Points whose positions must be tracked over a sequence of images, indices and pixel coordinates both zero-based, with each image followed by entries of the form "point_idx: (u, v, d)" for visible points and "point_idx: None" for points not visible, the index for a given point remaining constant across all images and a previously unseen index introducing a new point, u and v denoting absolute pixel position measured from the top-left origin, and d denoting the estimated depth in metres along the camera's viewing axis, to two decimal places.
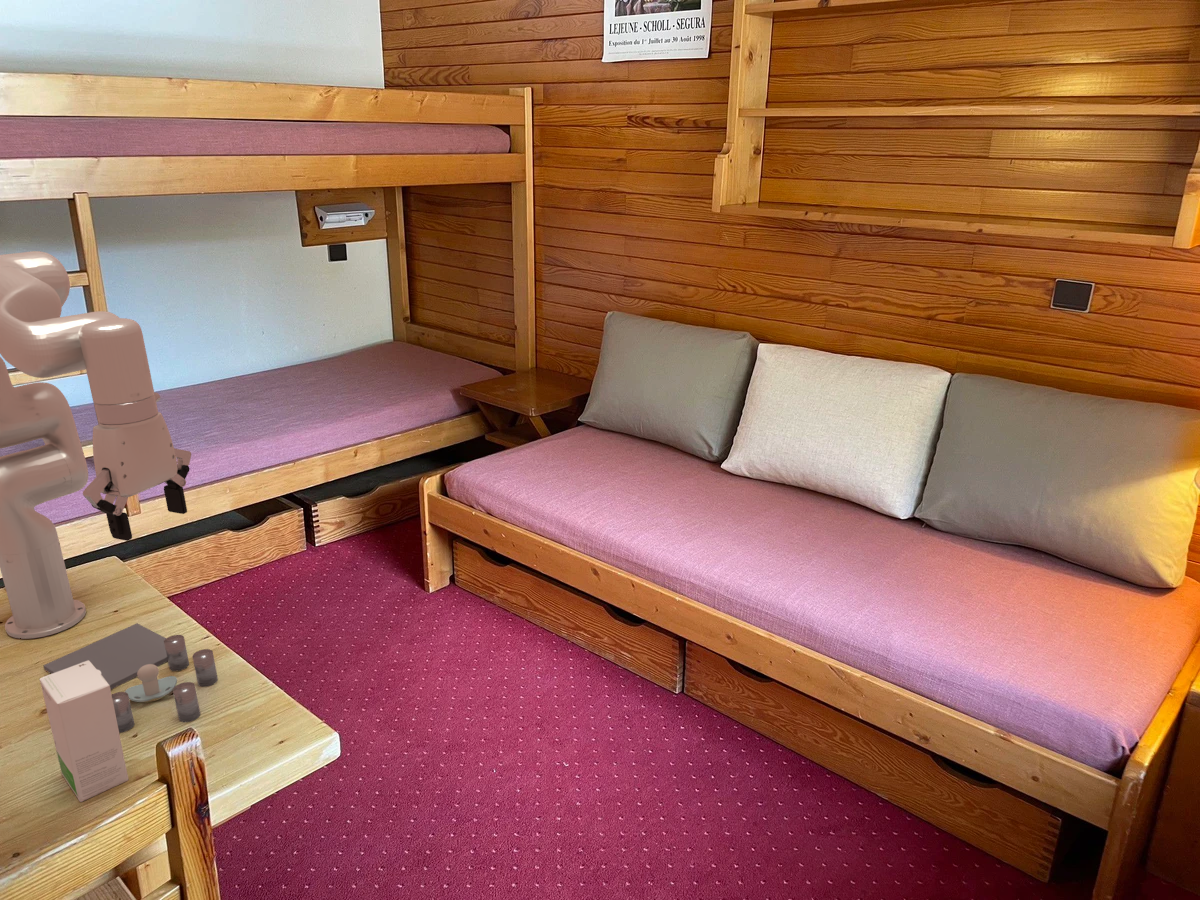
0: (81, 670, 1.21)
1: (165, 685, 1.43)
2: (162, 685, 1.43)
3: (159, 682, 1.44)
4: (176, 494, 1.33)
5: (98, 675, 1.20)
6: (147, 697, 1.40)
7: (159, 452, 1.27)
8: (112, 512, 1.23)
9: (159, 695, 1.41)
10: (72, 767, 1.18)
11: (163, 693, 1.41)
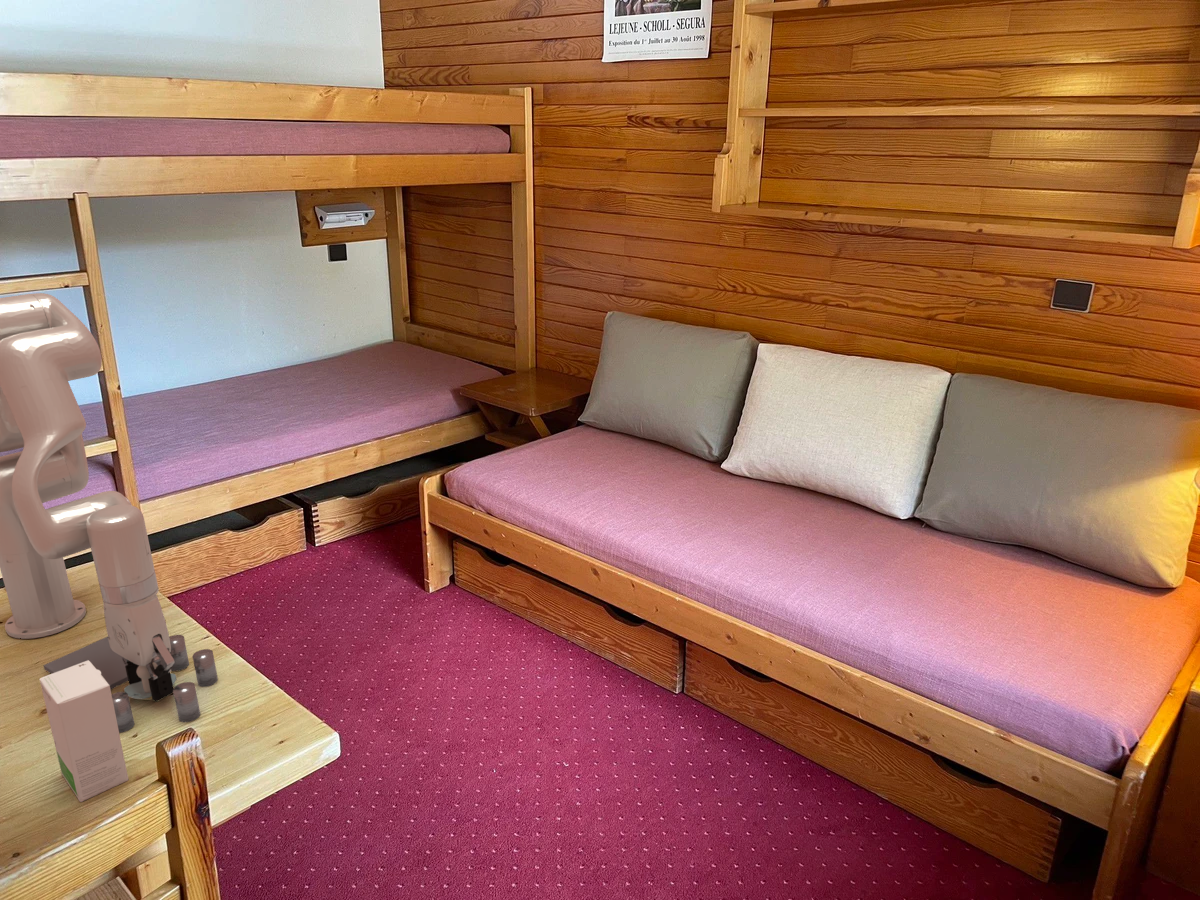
0: (81, 670, 1.21)
1: None
2: None
3: None
4: None
5: (98, 675, 1.20)
6: (147, 694, 1.41)
7: None
8: (168, 670, 1.39)
9: None
10: (72, 767, 1.18)
11: None
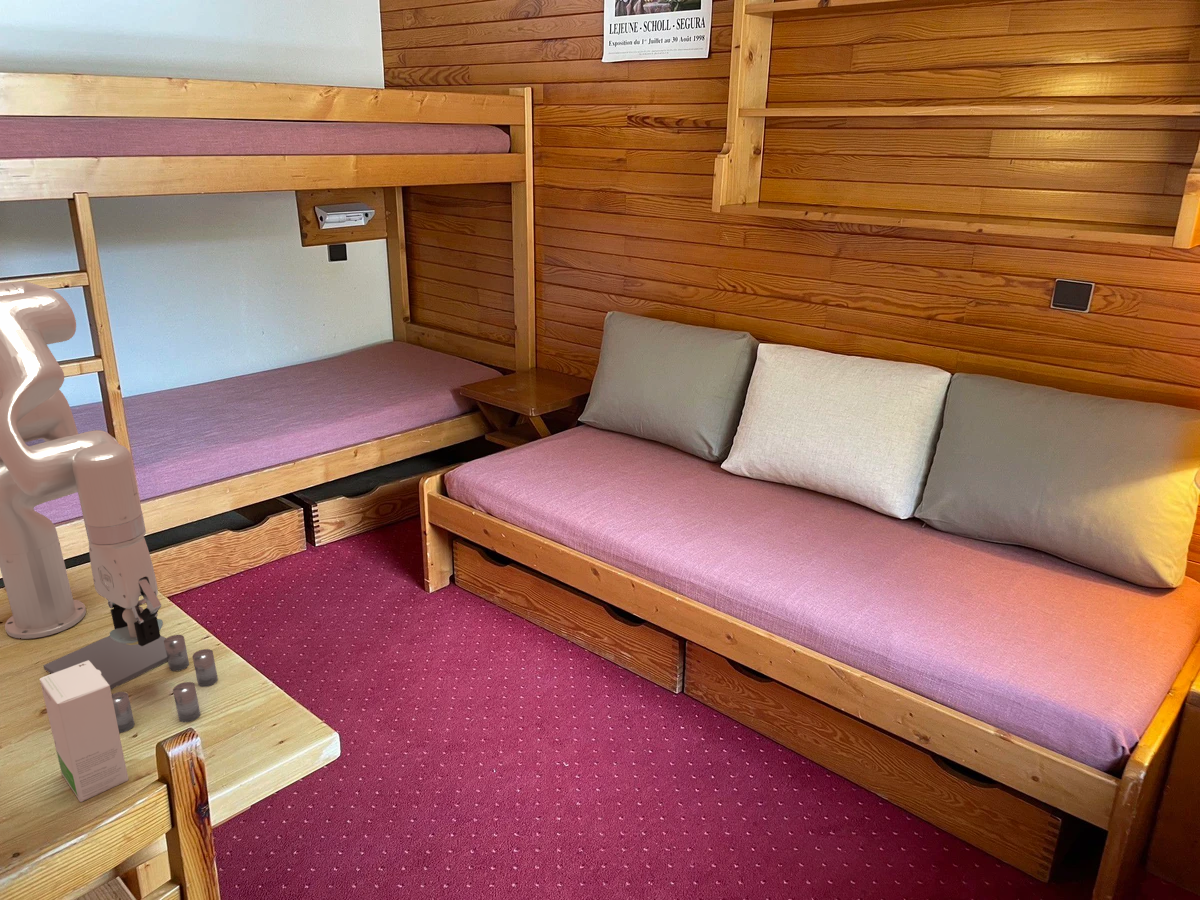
0: (81, 670, 1.21)
1: None
2: None
3: None
4: None
5: (98, 675, 1.20)
6: (133, 639, 1.38)
7: None
8: (155, 615, 1.36)
9: None
10: (72, 767, 1.18)
11: None
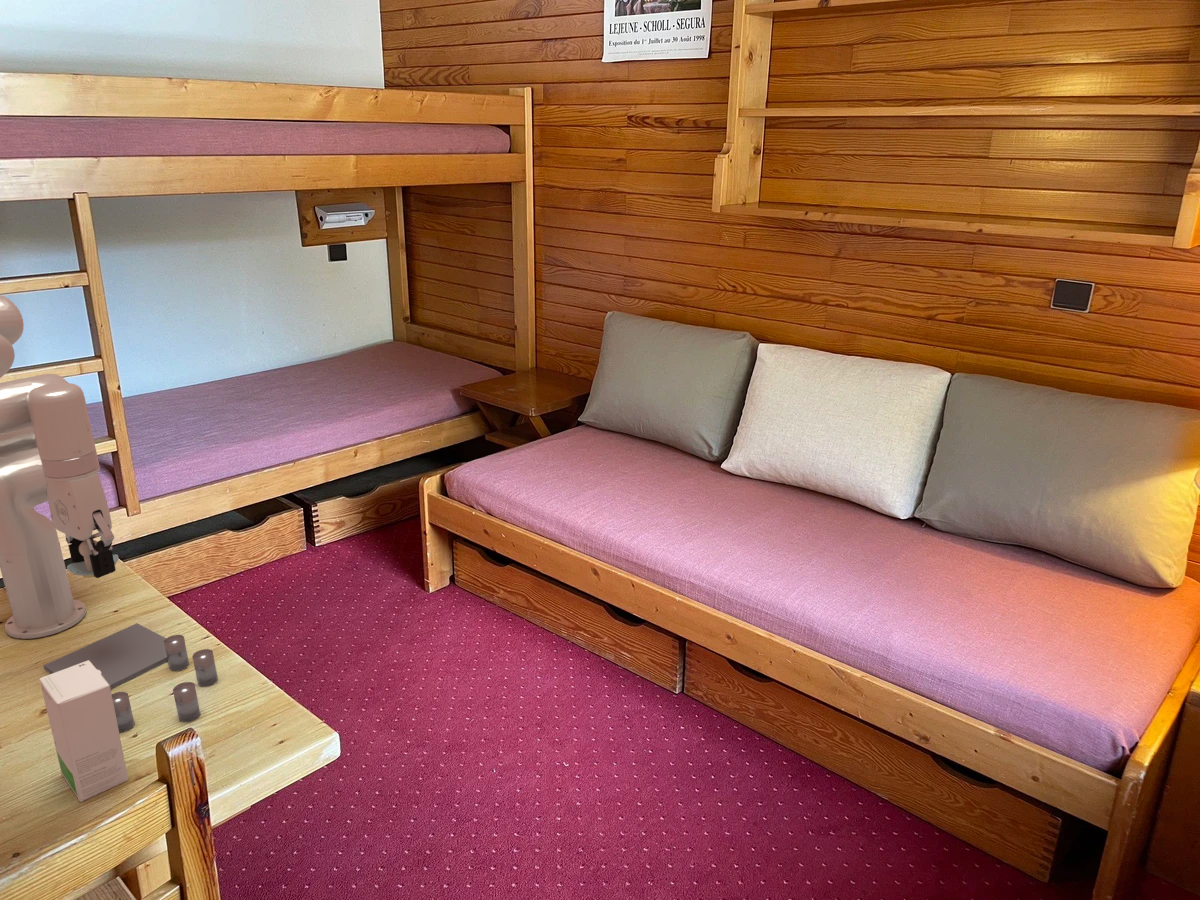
0: (81, 670, 1.21)
1: None
2: None
3: None
4: None
5: (98, 675, 1.20)
6: (89, 572, 1.45)
7: None
8: (109, 548, 1.43)
9: None
10: (72, 767, 1.18)
11: None
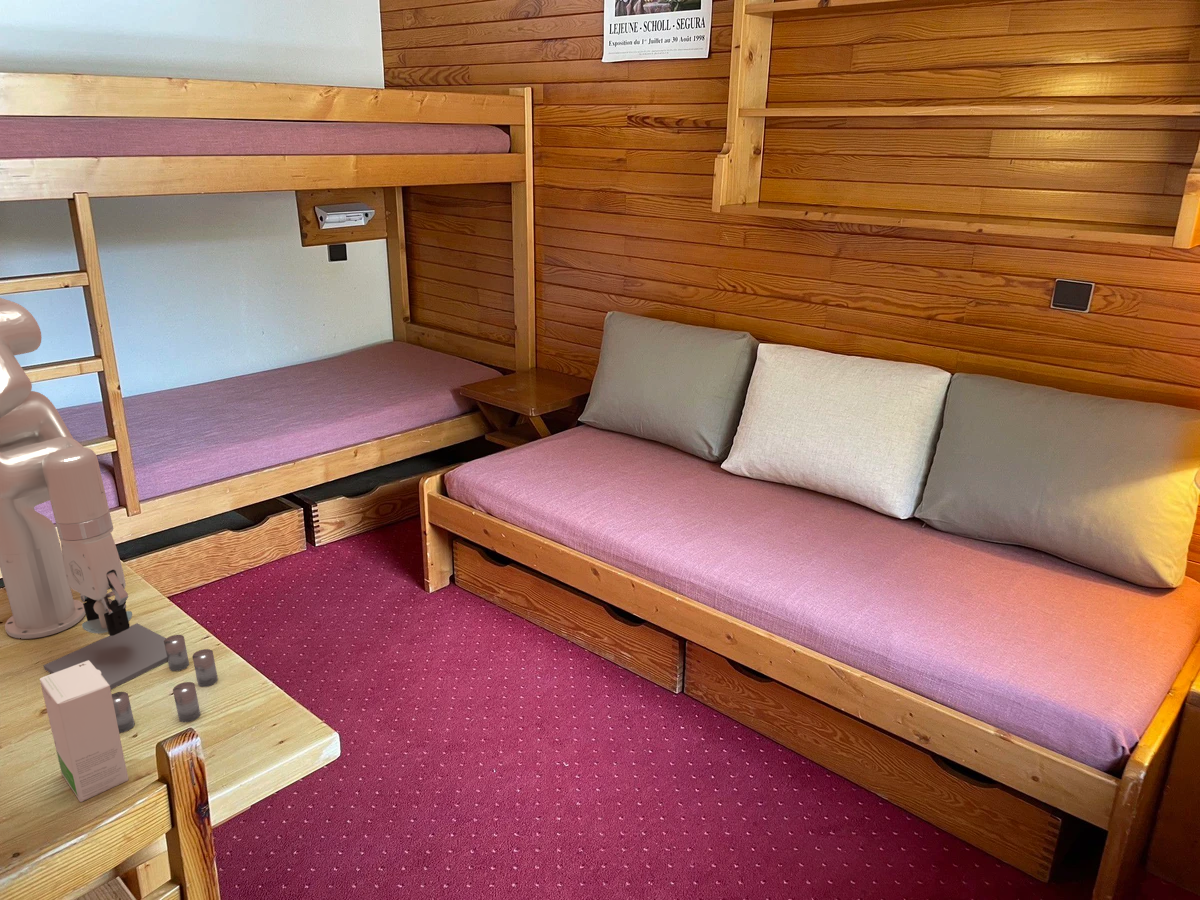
0: (81, 670, 1.21)
1: None
2: None
3: None
4: None
5: (98, 675, 1.20)
6: (104, 629, 1.48)
7: None
8: None
9: None
10: (72, 767, 1.18)
11: None
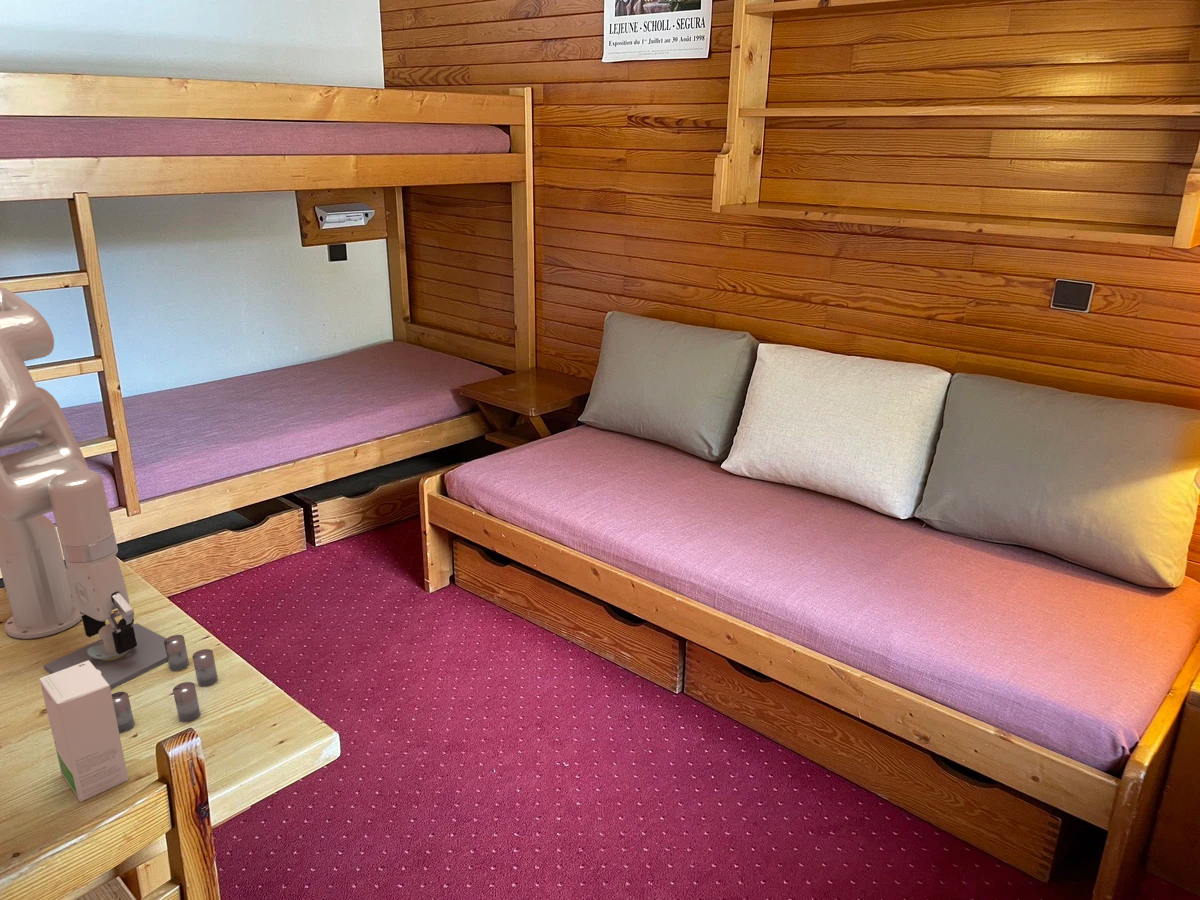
0: (81, 670, 1.21)
1: None
2: None
3: None
4: None
5: (98, 675, 1.20)
6: (109, 655, 1.50)
7: None
8: None
9: None
10: (72, 767, 1.18)
11: None
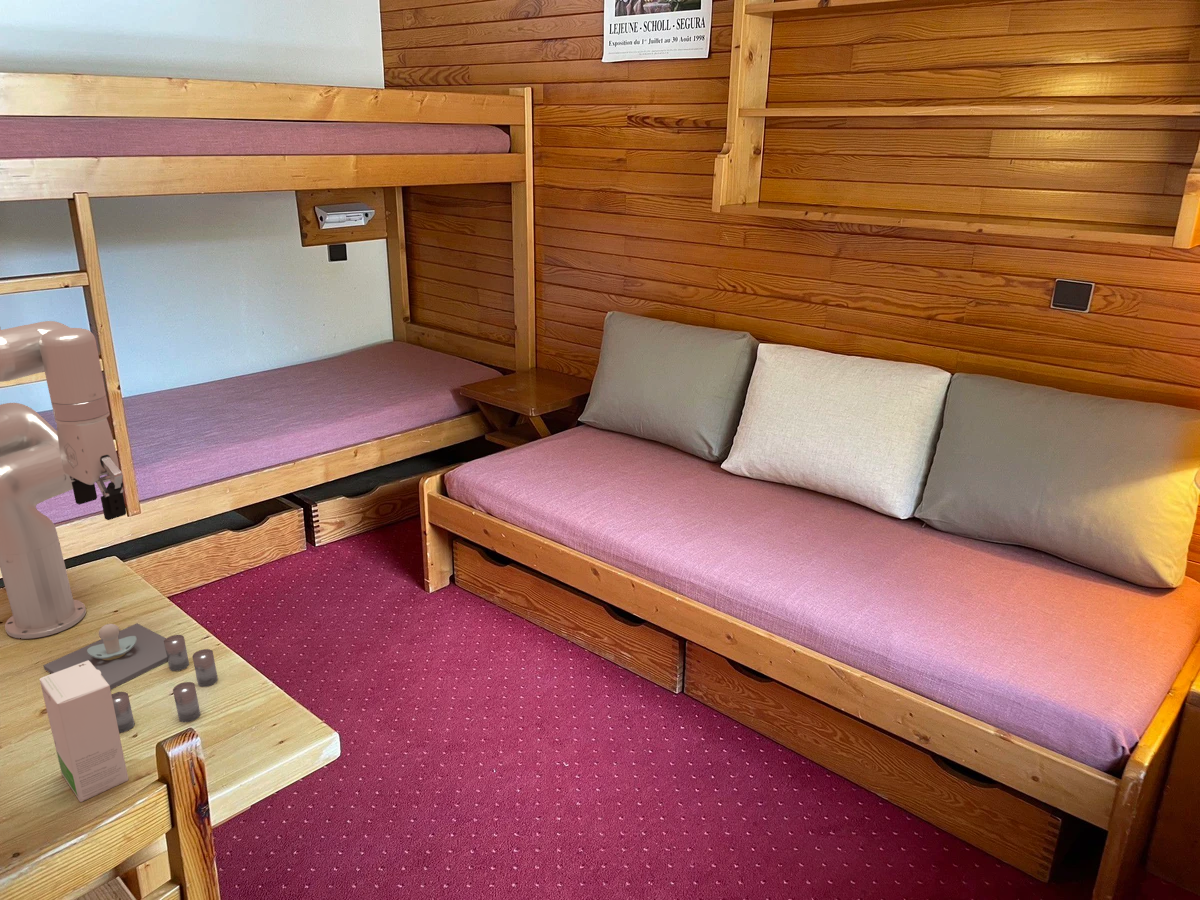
0: (81, 670, 1.21)
1: (125, 644, 1.53)
2: (123, 644, 1.53)
3: (120, 642, 1.53)
4: None
5: (98, 675, 1.20)
6: (109, 655, 1.50)
7: None
8: (120, 490, 1.43)
9: (120, 653, 1.51)
10: (72, 767, 1.18)
11: (123, 651, 1.51)
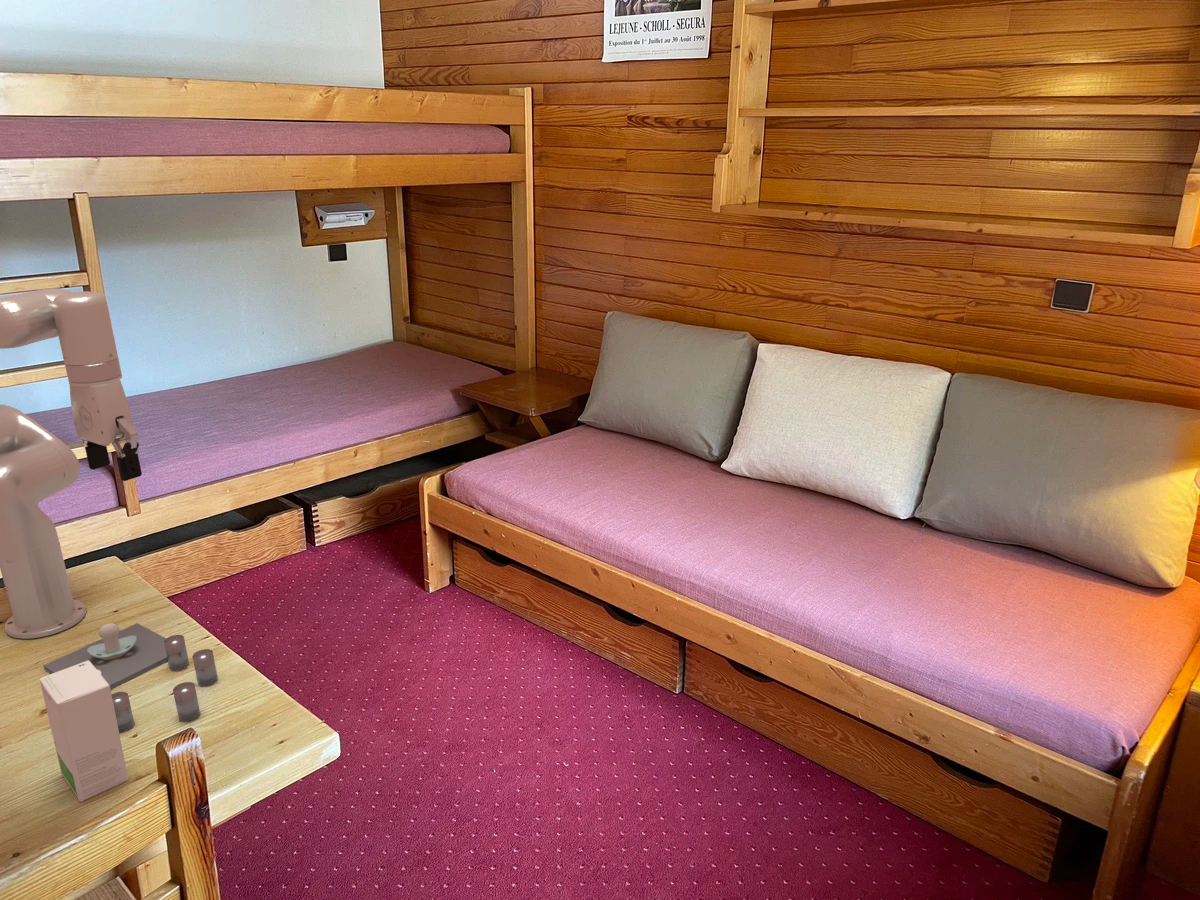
0: (81, 670, 1.21)
1: (125, 644, 1.53)
2: (123, 644, 1.53)
3: (120, 641, 1.54)
4: (103, 448, 1.52)
5: (98, 675, 1.20)
6: (109, 654, 1.50)
7: None
8: (136, 451, 1.46)
9: (120, 652, 1.51)
10: (72, 767, 1.18)
11: (123, 651, 1.51)
